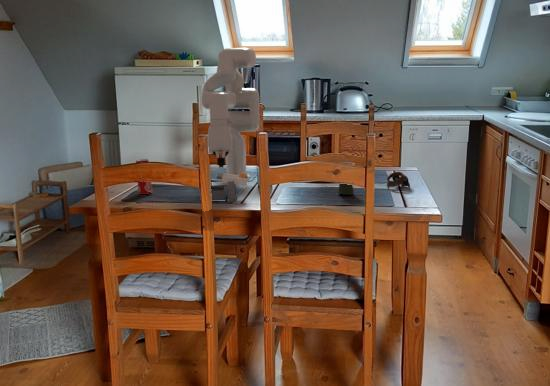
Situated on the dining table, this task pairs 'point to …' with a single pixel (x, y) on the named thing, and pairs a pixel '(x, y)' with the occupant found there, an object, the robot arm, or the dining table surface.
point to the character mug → (344, 187)
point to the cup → (218, 192)
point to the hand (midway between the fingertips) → (221, 167)
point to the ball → (243, 175)
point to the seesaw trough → (233, 179)
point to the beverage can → (144, 186)
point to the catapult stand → (232, 192)
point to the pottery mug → (397, 180)
